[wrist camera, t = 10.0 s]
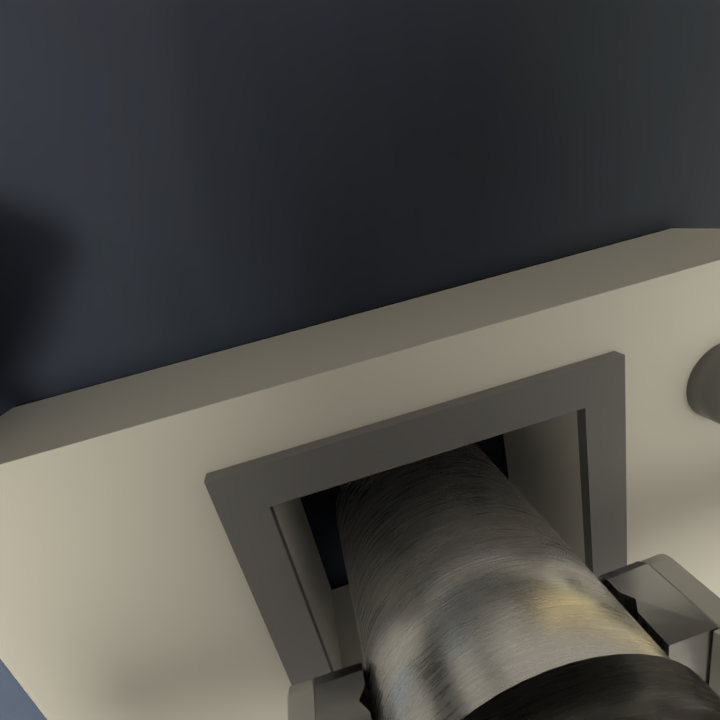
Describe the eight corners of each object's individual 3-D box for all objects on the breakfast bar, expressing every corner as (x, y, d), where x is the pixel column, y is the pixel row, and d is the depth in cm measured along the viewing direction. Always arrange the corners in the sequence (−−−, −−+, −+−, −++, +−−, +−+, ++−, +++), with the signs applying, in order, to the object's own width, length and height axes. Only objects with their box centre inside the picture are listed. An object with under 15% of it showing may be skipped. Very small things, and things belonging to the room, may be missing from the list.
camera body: (12, 407, 11) (-168, 529, 7) (671, 228, 13) (876, 228, 9) (179, 694, 15) (136, 891, 11) (663, 525, 17) (799, 630, 13)
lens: (310, 455, 12) (430, 1373, 2) (488, 401, 12) (1170, 970, 3) (353, 594, 14) (520, 1424, 4) (507, 541, 14) (963, 1173, 5)
